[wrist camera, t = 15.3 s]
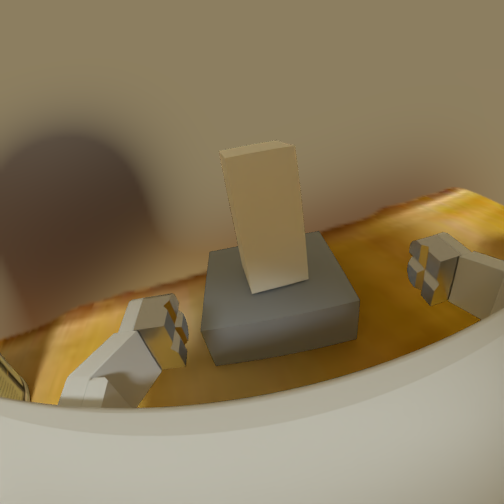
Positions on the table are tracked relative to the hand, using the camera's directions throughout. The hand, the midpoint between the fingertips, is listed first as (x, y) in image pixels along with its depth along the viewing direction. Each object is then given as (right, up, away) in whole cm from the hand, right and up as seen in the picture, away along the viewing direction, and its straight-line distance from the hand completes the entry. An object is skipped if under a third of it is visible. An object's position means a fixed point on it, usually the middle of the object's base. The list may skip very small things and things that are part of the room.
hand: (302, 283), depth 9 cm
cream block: (0, 0, +12) cm, 12 cm away
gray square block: (0, -4, +14) cm, 15 cm away
